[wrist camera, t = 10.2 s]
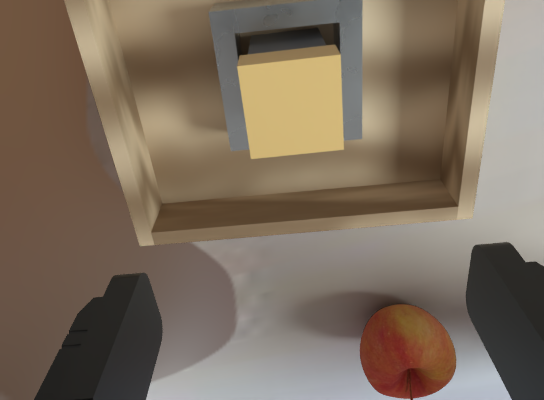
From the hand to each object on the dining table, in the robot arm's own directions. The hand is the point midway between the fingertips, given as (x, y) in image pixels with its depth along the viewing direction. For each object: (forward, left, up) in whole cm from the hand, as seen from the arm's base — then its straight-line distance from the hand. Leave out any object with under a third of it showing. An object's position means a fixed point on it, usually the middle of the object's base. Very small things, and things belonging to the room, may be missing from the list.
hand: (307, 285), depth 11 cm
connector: (0, 0, -20) cm, 20 cm away
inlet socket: (0, 0, -21) cm, 21 cm away
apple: (-23, -8, -21) cm, 32 cm away
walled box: (0, 0, -21) cm, 21 cm away
